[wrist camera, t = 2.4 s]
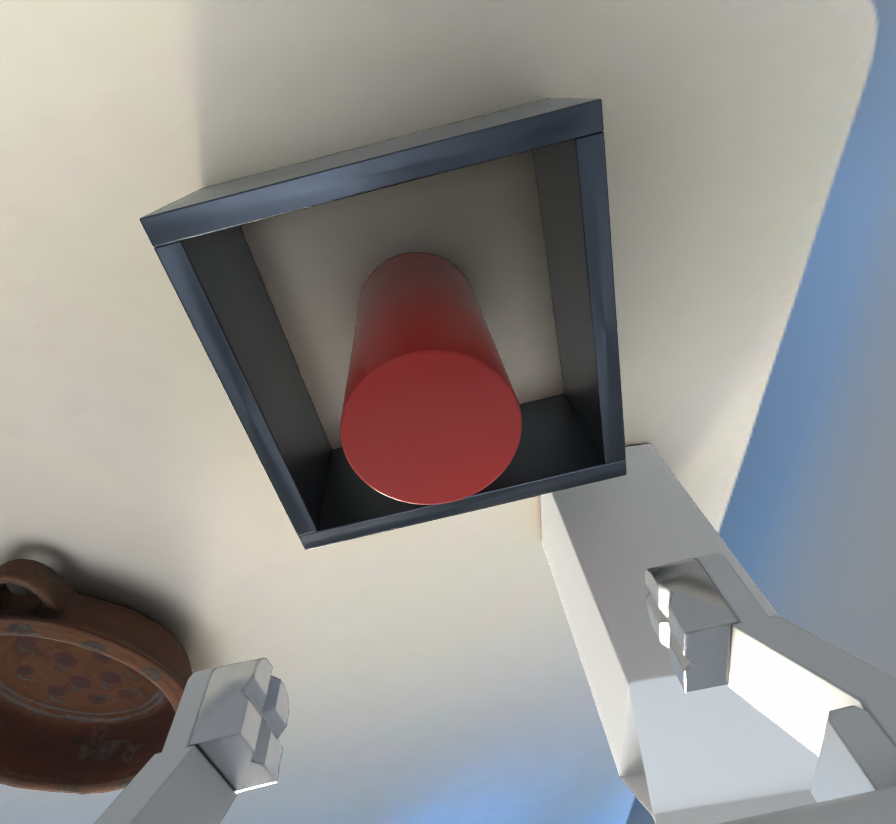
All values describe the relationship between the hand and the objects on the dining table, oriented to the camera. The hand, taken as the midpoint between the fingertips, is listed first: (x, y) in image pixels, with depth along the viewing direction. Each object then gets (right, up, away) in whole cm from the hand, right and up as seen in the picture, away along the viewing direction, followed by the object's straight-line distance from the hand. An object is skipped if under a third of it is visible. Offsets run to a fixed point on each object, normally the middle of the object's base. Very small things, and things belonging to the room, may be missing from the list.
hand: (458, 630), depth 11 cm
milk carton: (+9, -1, +24) cm, 26 cm away
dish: (-26, -13, +28) cm, 40 cm away
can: (-2, +10, +17) cm, 20 cm away
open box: (-2, +10, +17) cm, 20 cm away
